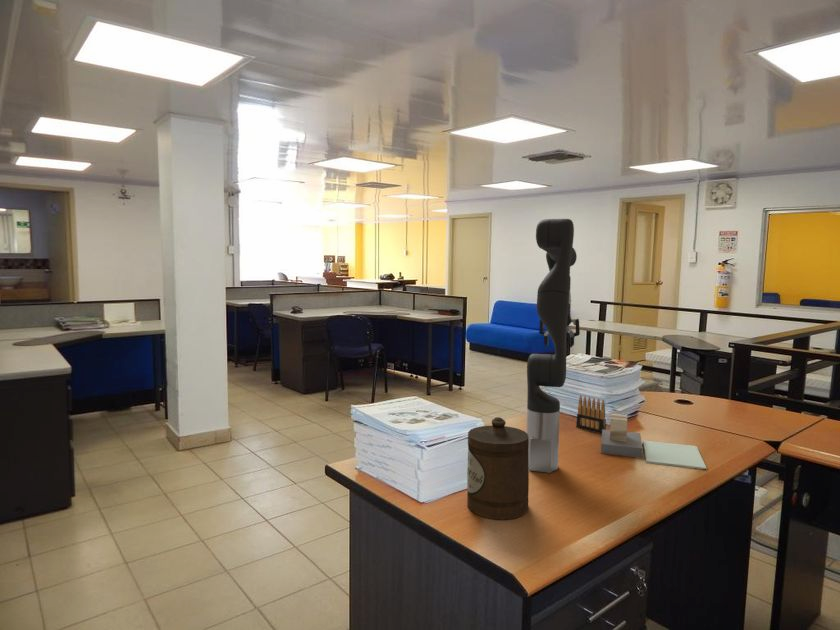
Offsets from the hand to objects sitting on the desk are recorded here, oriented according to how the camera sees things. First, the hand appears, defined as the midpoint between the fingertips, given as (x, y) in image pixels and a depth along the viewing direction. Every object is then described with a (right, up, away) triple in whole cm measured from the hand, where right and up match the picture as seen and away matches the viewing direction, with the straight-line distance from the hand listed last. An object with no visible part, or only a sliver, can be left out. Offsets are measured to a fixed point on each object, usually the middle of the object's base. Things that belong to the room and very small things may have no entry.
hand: (558, 346), depth 196 cm
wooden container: (-32, -35, -65) cm, 81 cm away
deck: (+14, -31, -22) cm, 41 cm away
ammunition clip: (+10, -30, -4) cm, 32 cm away
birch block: (+13, -28, -22) cm, 39 cm away
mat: (+28, -32, -29) cm, 52 cm away
